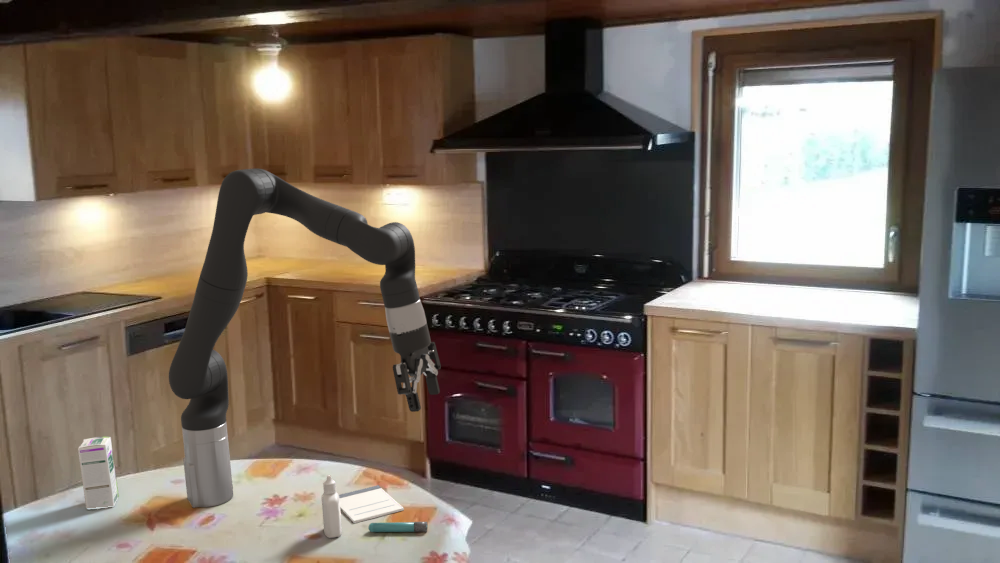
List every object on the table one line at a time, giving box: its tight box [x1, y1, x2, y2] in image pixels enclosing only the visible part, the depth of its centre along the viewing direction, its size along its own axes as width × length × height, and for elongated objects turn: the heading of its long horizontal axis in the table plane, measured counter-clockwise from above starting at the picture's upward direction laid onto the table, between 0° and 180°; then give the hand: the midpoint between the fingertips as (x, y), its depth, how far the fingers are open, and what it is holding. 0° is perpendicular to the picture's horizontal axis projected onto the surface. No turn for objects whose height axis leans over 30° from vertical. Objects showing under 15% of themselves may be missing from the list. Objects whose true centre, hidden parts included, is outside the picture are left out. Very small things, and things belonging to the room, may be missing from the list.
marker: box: [368, 521, 428, 533], centre depth 176 cm, size 12×2×2 cm, turn 87°
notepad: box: [338, 484, 405, 524], centre depth 189 cm, size 11×14×1 cm
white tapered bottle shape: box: [321, 474, 343, 539], centre depth 176 cm, size 4×6×12 cm
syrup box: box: [77, 436, 120, 509], centre depth 193 cm, size 6×6×14 cm
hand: (425, 402), depth 177 cm, fingers open, 8 cm apart
